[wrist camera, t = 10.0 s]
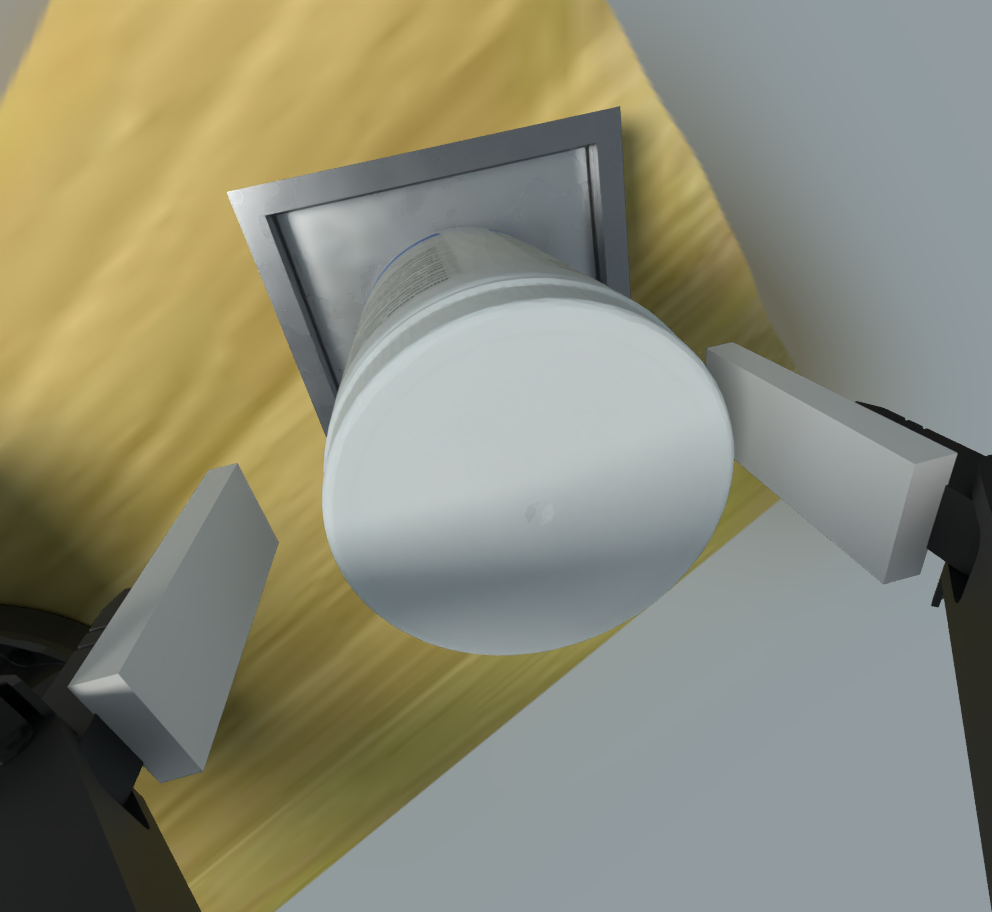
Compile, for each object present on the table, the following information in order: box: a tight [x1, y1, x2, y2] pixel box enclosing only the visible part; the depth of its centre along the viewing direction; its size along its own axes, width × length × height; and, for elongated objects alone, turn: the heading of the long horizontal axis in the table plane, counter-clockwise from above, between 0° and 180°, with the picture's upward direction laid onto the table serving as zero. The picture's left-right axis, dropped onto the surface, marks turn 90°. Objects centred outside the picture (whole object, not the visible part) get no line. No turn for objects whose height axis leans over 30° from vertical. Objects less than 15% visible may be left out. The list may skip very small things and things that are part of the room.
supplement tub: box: [322, 226, 734, 655], centre depth 18 cm, size 10×10×15 cm
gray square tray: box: [227, 106, 630, 438], centre depth 23 cm, size 15×16×8 cm
